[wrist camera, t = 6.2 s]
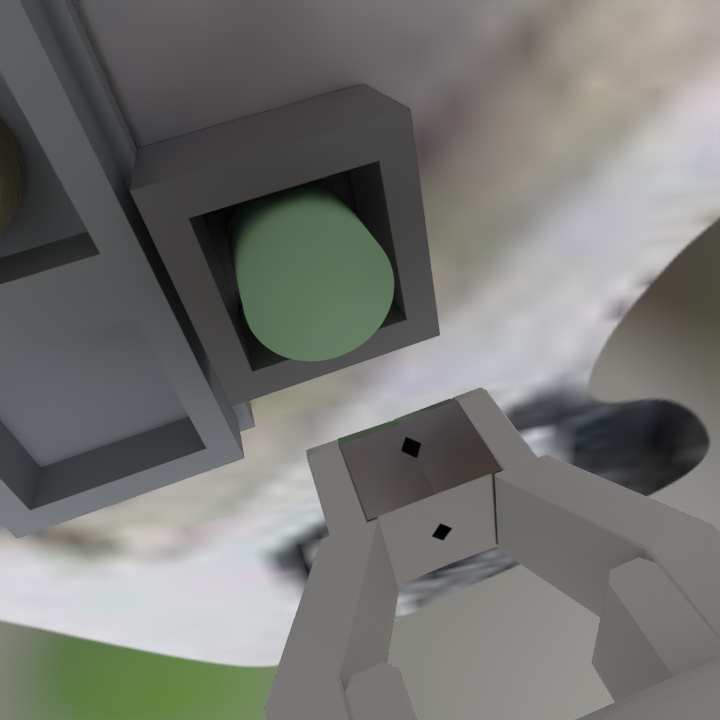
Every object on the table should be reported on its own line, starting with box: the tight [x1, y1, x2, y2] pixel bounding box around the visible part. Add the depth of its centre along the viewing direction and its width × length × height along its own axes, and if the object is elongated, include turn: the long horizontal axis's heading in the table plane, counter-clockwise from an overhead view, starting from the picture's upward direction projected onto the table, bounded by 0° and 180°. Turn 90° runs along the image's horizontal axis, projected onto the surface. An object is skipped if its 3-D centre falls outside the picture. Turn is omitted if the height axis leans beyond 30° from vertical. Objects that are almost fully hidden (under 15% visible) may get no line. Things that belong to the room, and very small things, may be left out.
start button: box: [228, 179, 394, 361], centre depth 16 cm, size 4×4×4 cm
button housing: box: [130, 83, 440, 407], centre depth 17 cm, size 7×7×4 cm
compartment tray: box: [0, 0, 255, 538], centre depth 16 cm, size 16×9×3 cm, turn 12°
